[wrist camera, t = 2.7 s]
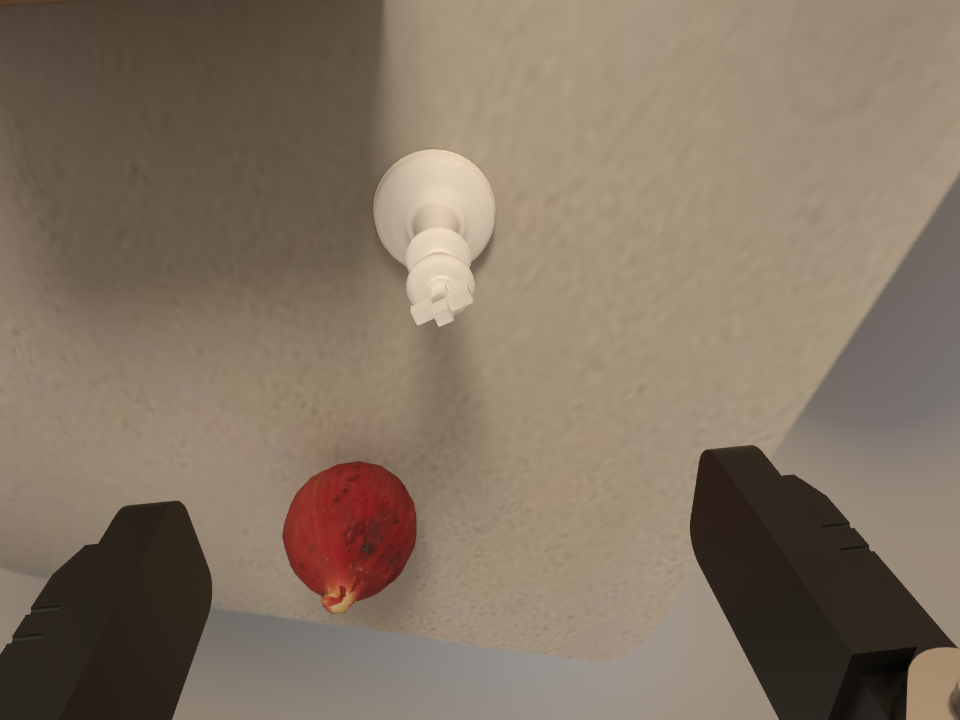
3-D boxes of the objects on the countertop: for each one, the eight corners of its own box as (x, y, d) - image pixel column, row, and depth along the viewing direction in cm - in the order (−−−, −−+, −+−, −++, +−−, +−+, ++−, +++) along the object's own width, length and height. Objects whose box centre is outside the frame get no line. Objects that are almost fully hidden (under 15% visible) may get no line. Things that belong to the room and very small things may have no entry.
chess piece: (512, 242, 26) (560, 357, 17) (405, 287, 26) (399, 420, 18) (467, 127, 24) (495, 193, 15) (351, 180, 24) (312, 272, 15)
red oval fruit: (349, 407, 29) (327, 530, 22) (440, 468, 31) (446, 598, 24) (276, 481, 31) (234, 616, 24) (367, 534, 33) (353, 673, 26)
